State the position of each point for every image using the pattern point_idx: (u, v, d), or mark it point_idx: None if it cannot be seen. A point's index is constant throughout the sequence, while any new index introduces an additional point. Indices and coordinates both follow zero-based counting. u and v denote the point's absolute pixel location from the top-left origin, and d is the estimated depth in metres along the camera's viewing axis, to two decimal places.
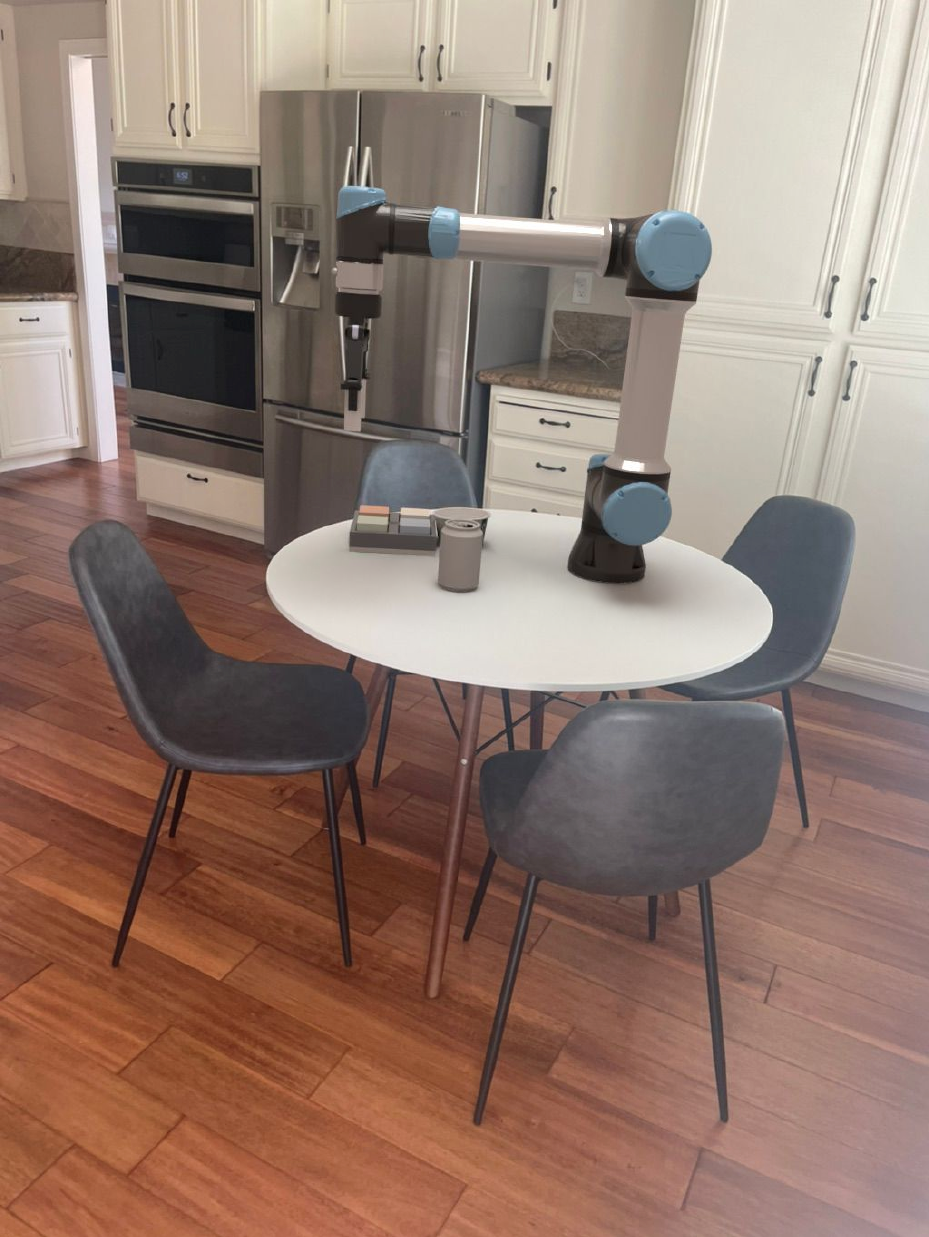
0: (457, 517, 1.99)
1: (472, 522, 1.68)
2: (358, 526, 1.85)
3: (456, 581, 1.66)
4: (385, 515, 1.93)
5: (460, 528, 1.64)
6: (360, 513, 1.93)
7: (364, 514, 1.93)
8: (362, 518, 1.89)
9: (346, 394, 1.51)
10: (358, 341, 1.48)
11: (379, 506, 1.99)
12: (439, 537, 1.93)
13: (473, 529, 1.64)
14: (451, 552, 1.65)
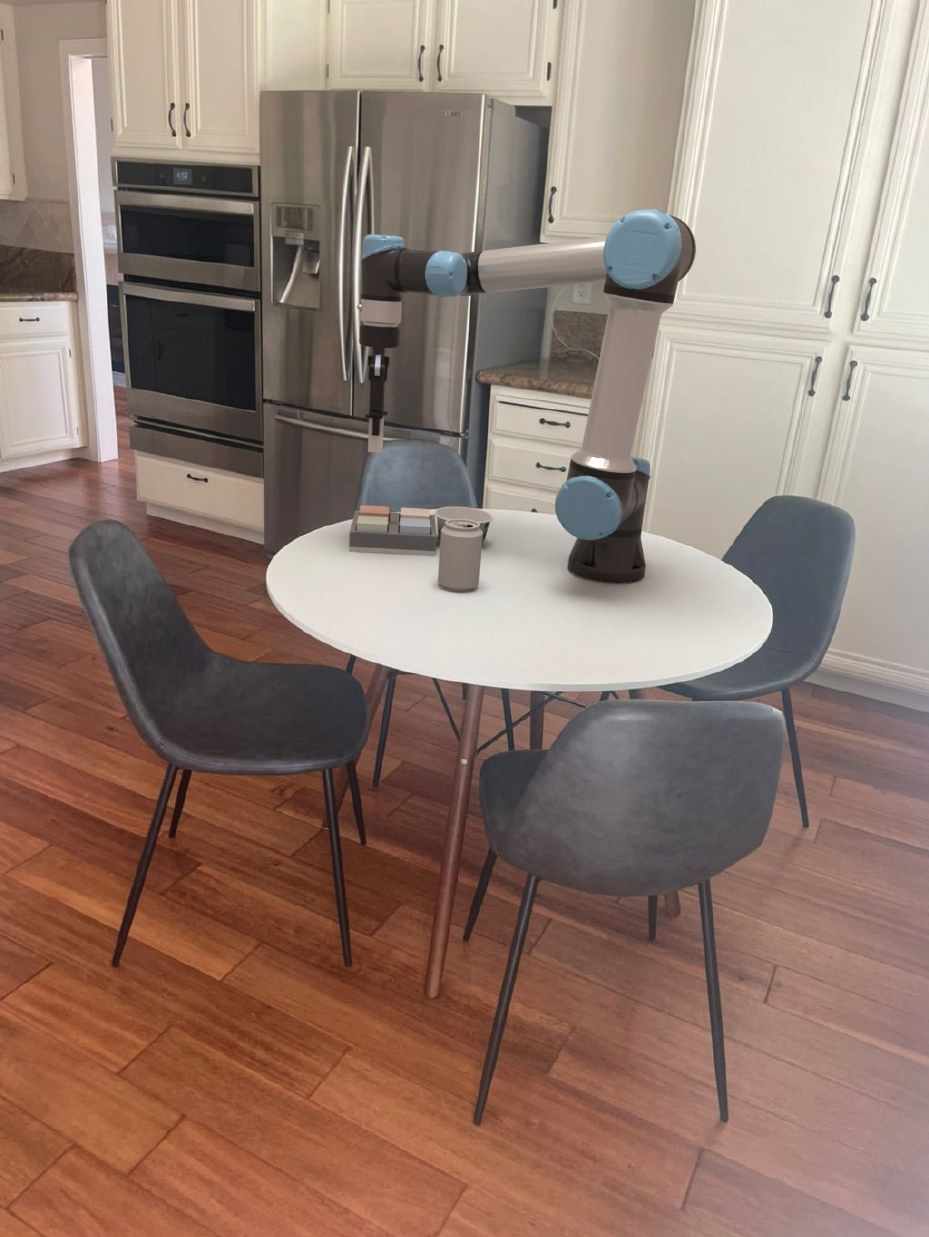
0: (456, 516, 1.99)
1: (472, 522, 1.68)
2: (358, 526, 1.85)
3: (456, 581, 1.66)
4: (385, 515, 1.93)
5: (460, 528, 1.64)
6: (360, 513, 1.93)
7: (364, 514, 1.93)
8: (362, 518, 1.89)
9: (370, 421, 1.79)
10: (380, 378, 1.73)
11: (379, 506, 1.99)
12: (440, 538, 1.93)
13: (473, 529, 1.64)
14: (451, 552, 1.65)
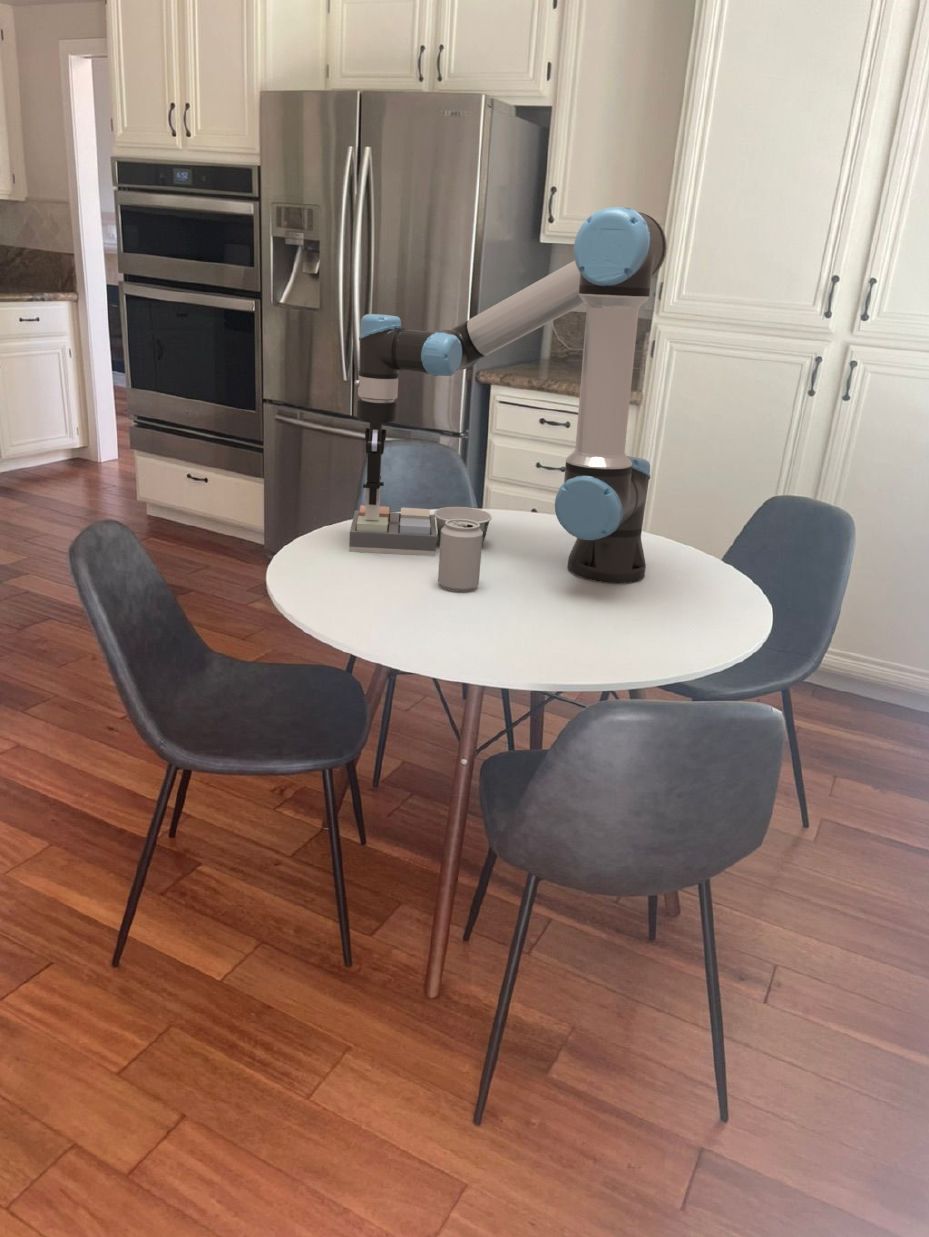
0: (455, 517, 1.99)
1: (472, 522, 1.68)
2: (358, 526, 1.85)
3: (456, 581, 1.66)
4: (385, 515, 1.93)
5: (460, 528, 1.64)
6: (360, 513, 1.93)
7: (364, 514, 1.93)
8: (362, 518, 1.89)
9: (367, 491, 1.85)
10: (377, 454, 1.78)
11: (379, 506, 1.99)
12: None
13: (473, 529, 1.64)
14: (451, 552, 1.65)
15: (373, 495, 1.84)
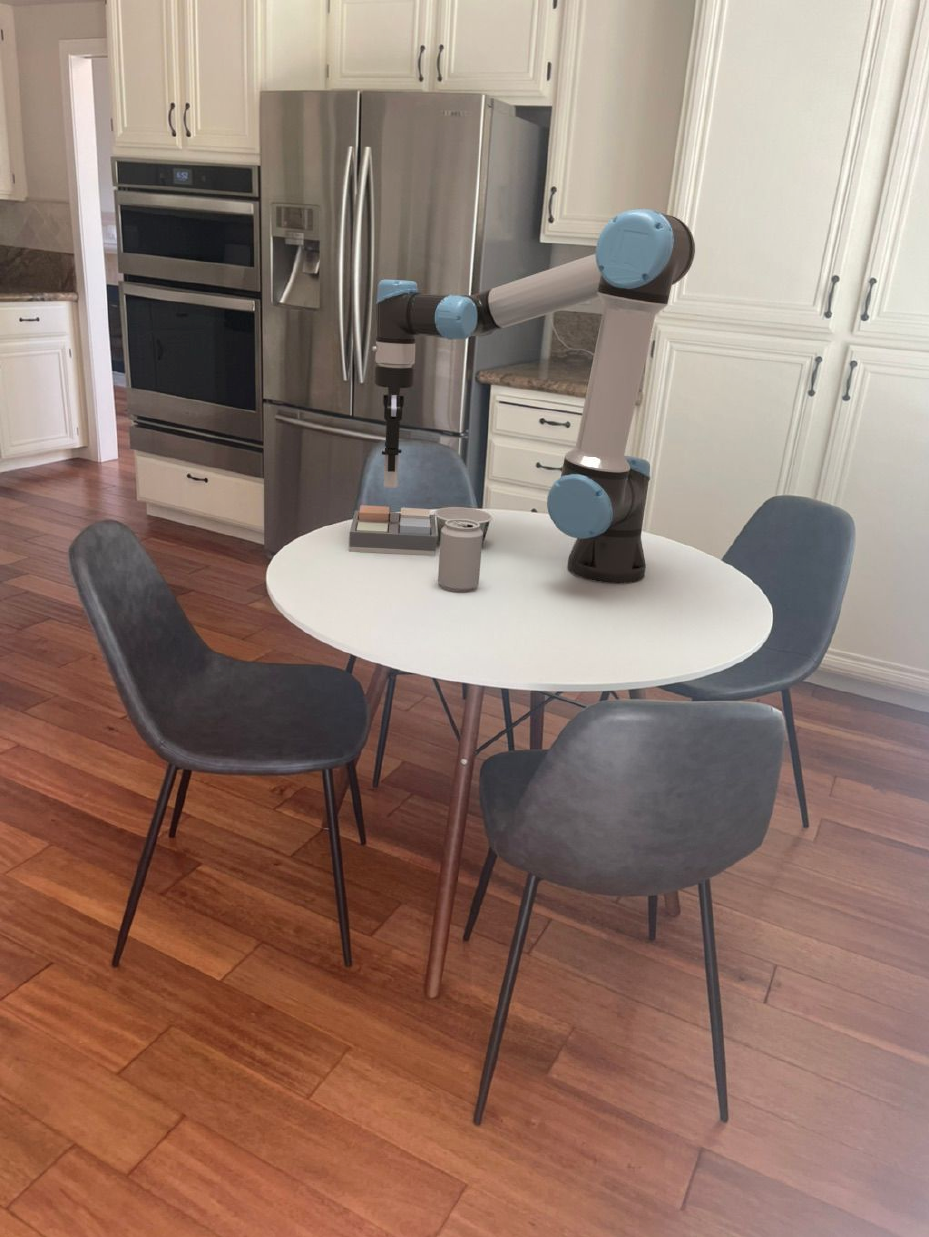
0: (455, 517, 1.99)
1: (472, 522, 1.68)
2: None
3: (456, 581, 1.66)
4: (385, 515, 1.93)
5: (460, 529, 1.64)
6: (360, 513, 1.93)
7: (364, 514, 1.93)
8: (362, 525, 1.89)
9: (386, 458, 1.86)
10: (396, 419, 1.79)
11: (379, 506, 1.99)
12: None
13: (473, 529, 1.64)
14: (451, 552, 1.65)
15: (392, 462, 1.85)
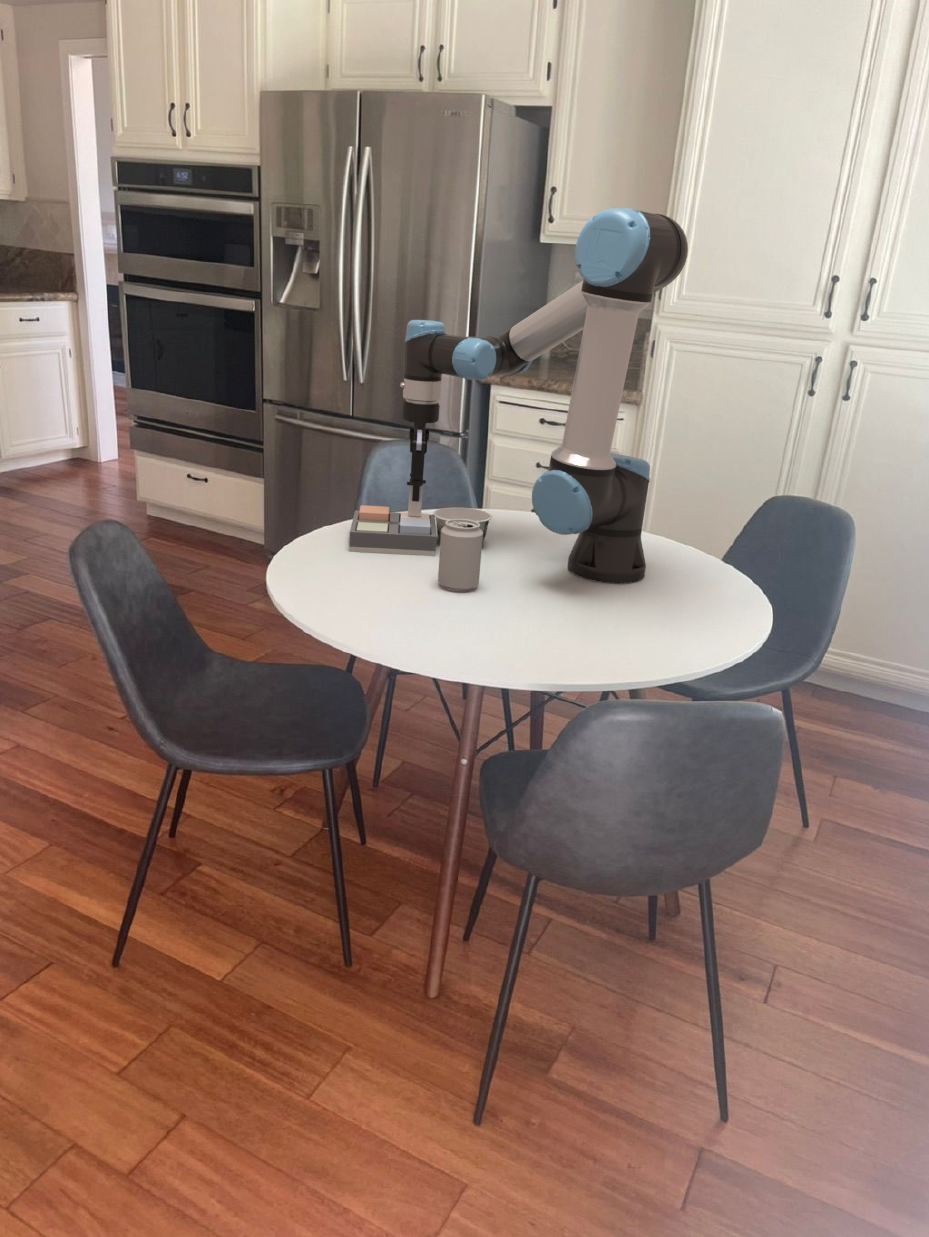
0: (454, 517, 1.99)
1: (472, 522, 1.68)
2: None
3: (456, 581, 1.66)
4: (385, 515, 1.93)
5: (460, 528, 1.64)
6: (360, 513, 1.93)
7: (364, 514, 1.93)
8: (362, 525, 1.89)
9: (411, 488, 1.94)
10: (421, 453, 1.87)
11: (379, 506, 1.99)
12: None
13: (473, 529, 1.64)
14: (451, 552, 1.65)
15: (416, 492, 1.93)
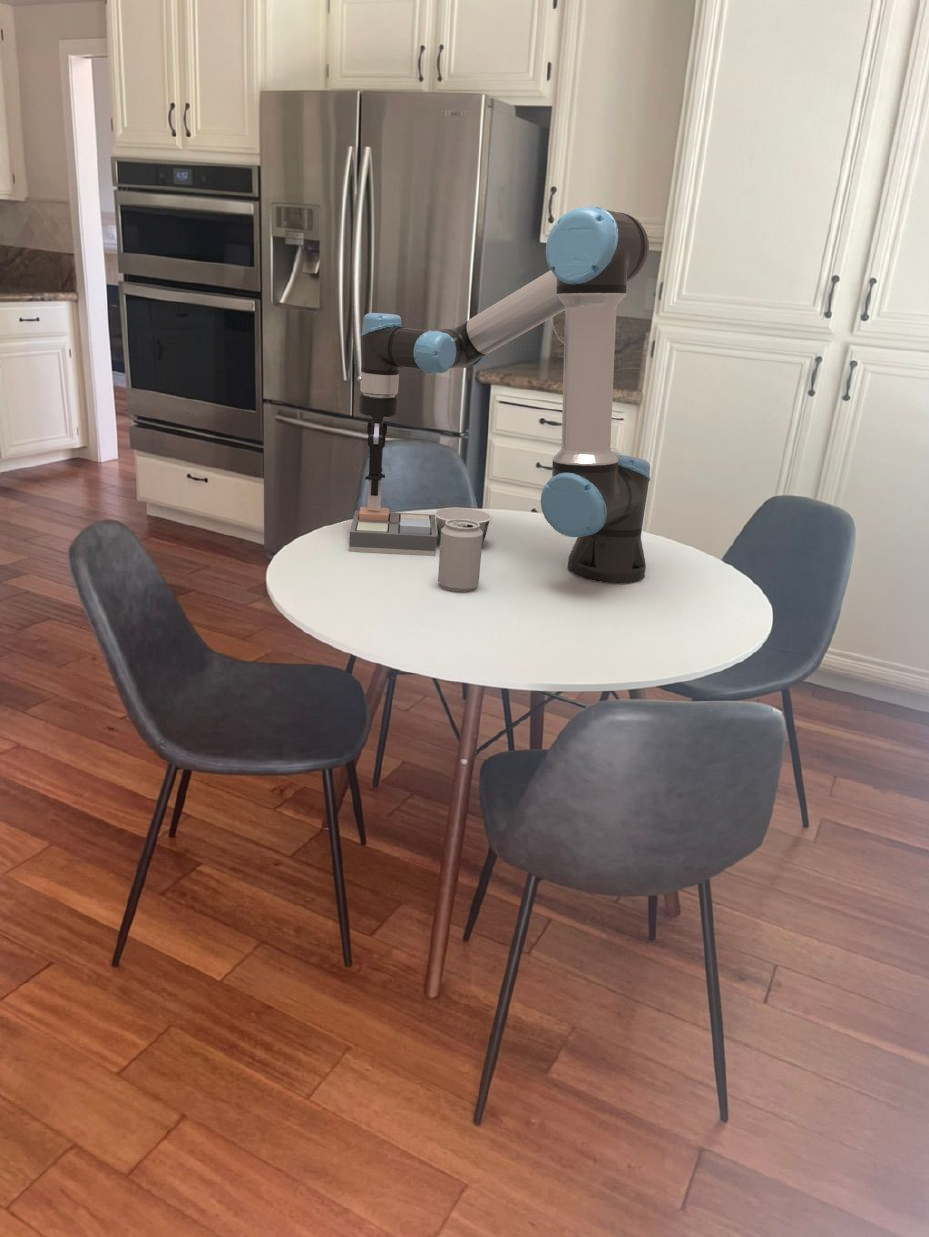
0: (454, 517, 1.99)
1: (472, 522, 1.68)
2: None
3: (456, 581, 1.66)
4: (385, 516, 1.94)
5: (460, 528, 1.64)
6: (360, 514, 1.93)
7: (364, 515, 1.93)
8: (362, 525, 1.89)
9: (369, 482, 1.93)
10: (378, 447, 1.86)
11: None
12: None
13: (473, 529, 1.64)
14: (451, 552, 1.65)
15: (375, 486, 1.92)
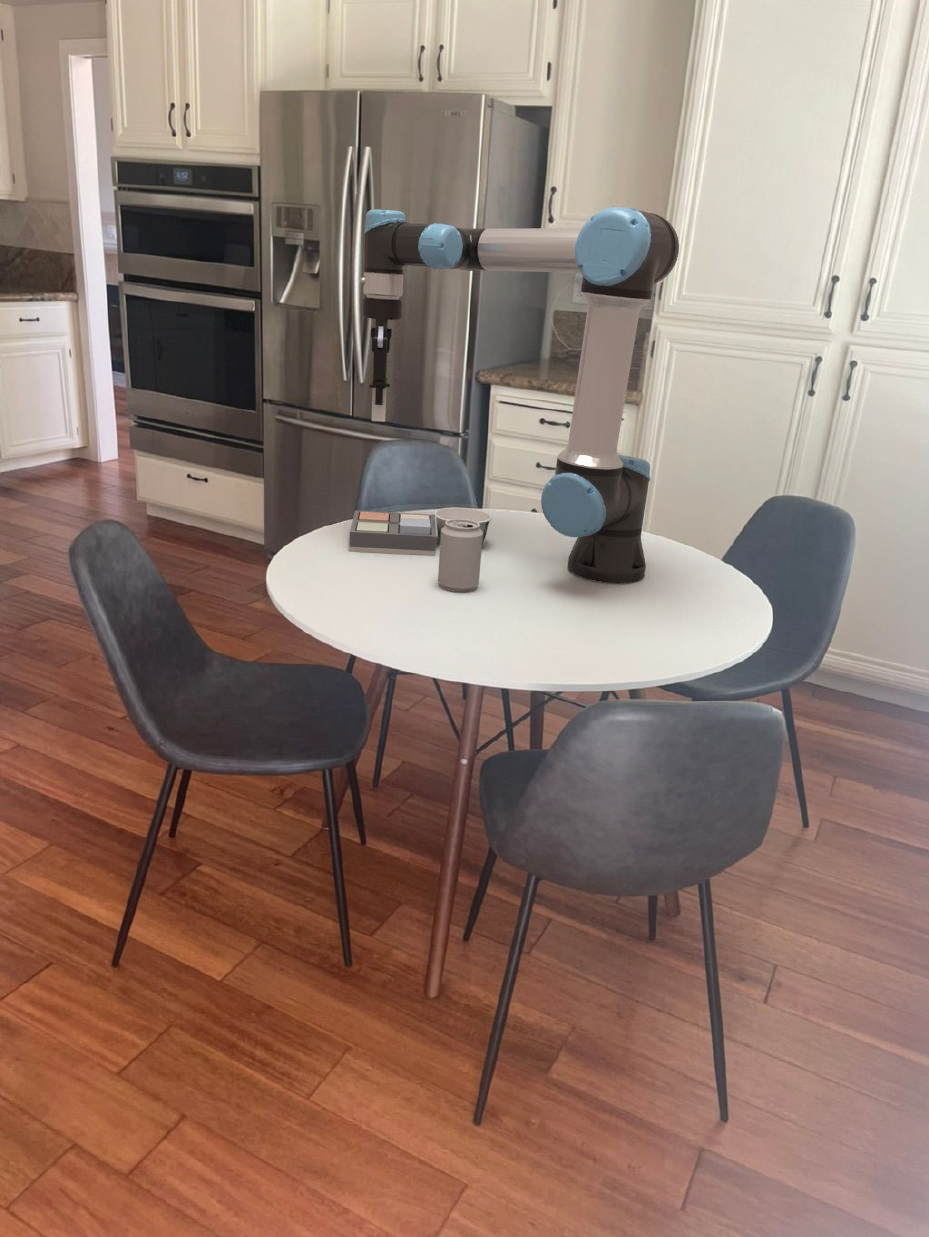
0: (454, 517, 1.99)
1: (472, 522, 1.68)
2: None
3: (456, 581, 1.66)
4: None
5: (460, 528, 1.64)
6: (360, 519, 1.94)
7: None
8: (362, 525, 1.89)
9: (374, 391, 1.87)
10: (382, 350, 1.80)
11: None
12: None
13: (473, 529, 1.64)
14: (451, 552, 1.65)
15: (379, 395, 1.86)
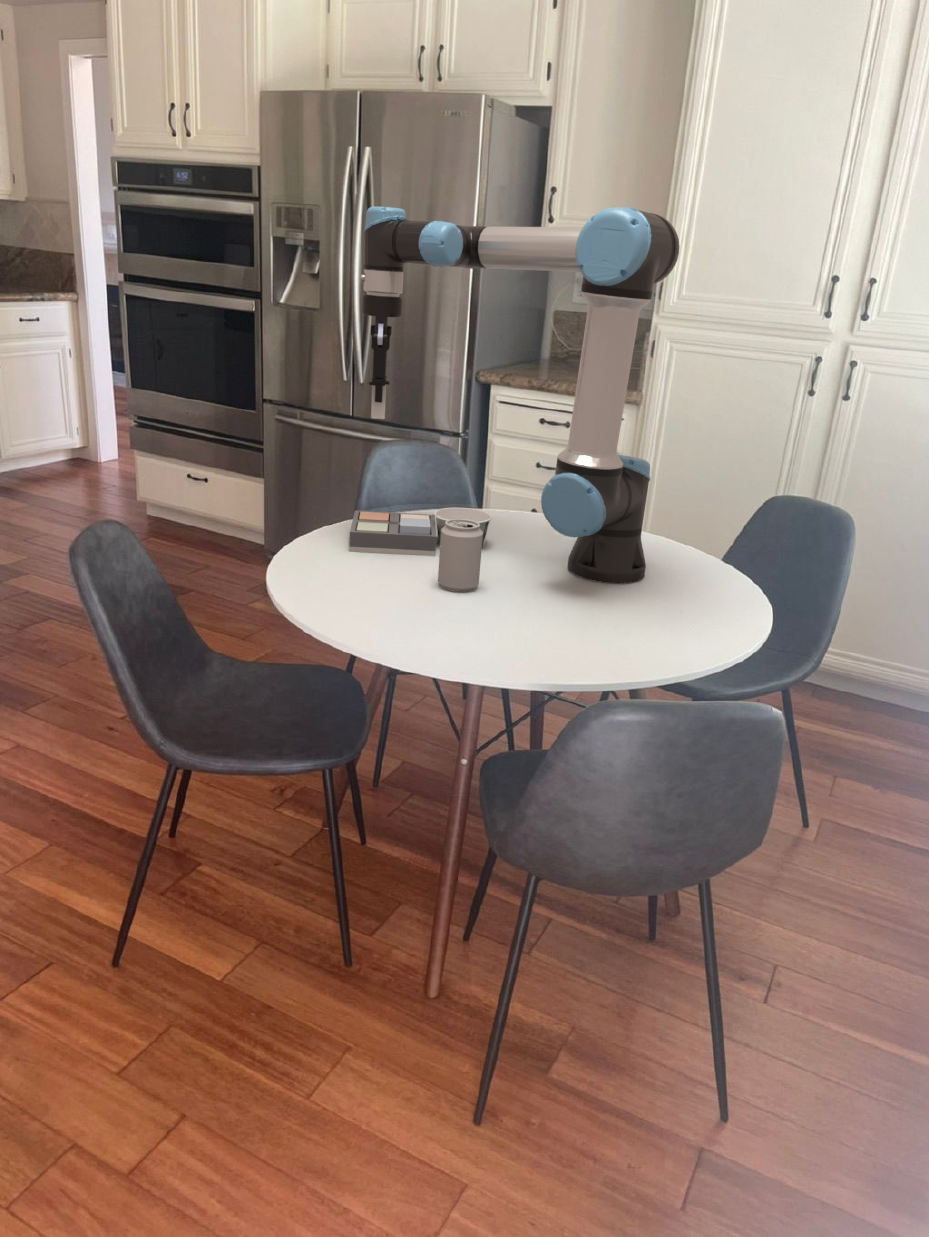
0: (454, 517, 1.99)
1: (472, 522, 1.68)
2: None
3: (456, 581, 1.66)
4: None
5: (460, 528, 1.64)
6: (360, 519, 1.94)
7: None
8: (362, 525, 1.89)
9: (373, 388, 1.87)
10: (382, 347, 1.79)
11: None
12: None
13: (473, 529, 1.64)
14: (451, 552, 1.65)
15: (379, 392, 1.86)
